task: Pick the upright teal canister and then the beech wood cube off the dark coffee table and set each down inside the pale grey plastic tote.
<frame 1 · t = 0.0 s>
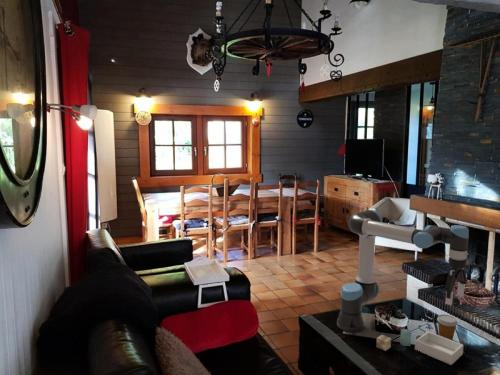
hand: (454, 300, 187), 28 cm above the table, fingers open, 13 cm apart
beech cube: (383, 347, 198), on the table
teal canister: (405, 344, 200), on the table
disposable coffee cup: (445, 340, 204), on the table
tote: (438, 351, 193), on the table
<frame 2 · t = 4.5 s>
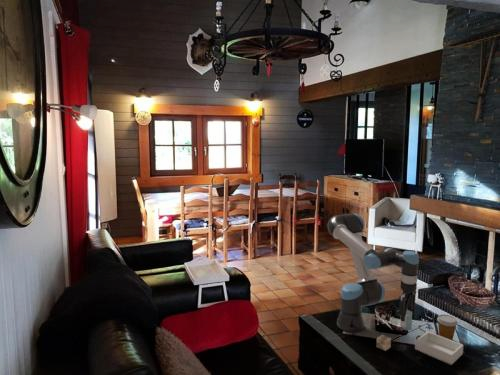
hand: (405, 324, 199), 11 cm above the table, fingers closed on teal canister, 5 cm apart
teal canister: (406, 328, 199), point 9 cm above the table, touching gripper
everything else where it was.
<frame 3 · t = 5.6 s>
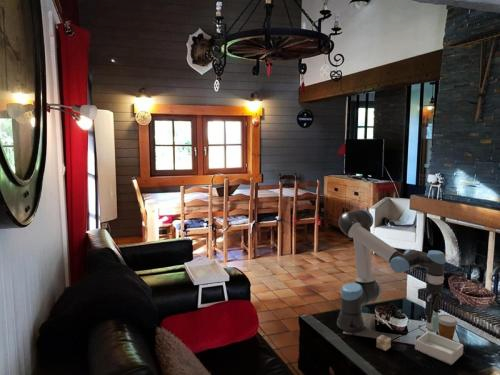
hand: (432, 326, 194), 12 cm above the table, fingers closed on teal canister, 5 cm apart
teal canister: (432, 329, 194), point 10 cm above the table, touching gripper
everything else where it was.
when the fingers open (5 cm above the table, at t = 7.1 s): teal canister drops 2 cm, resting on tote.
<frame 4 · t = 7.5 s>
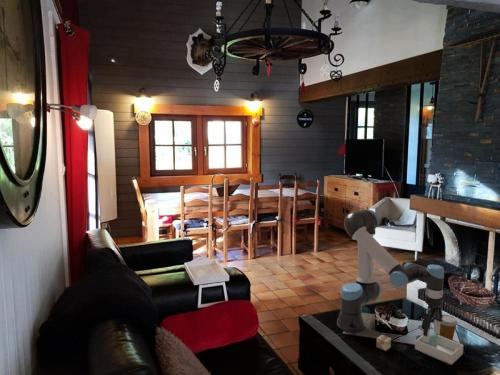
hand: (431, 337, 195), 6 cm above the table, fingers open, 11 cm apart
teal canister: (431, 347, 196), point 1 cm above the table, touching tote
everything else where it was.
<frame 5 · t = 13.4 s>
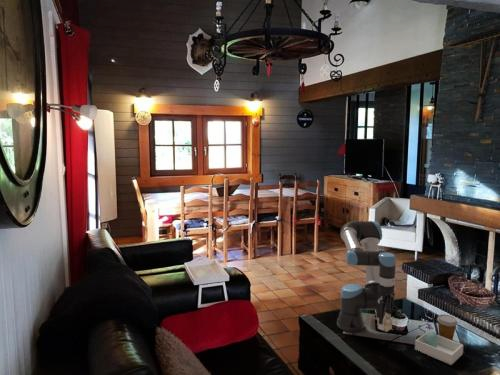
hand: (384, 327, 196), 11 cm above the table, fingers closed on beech cube, 5 cm apart
beech cube: (384, 328, 196), point 10 cm above the table, touching gripper
everything else where it was.
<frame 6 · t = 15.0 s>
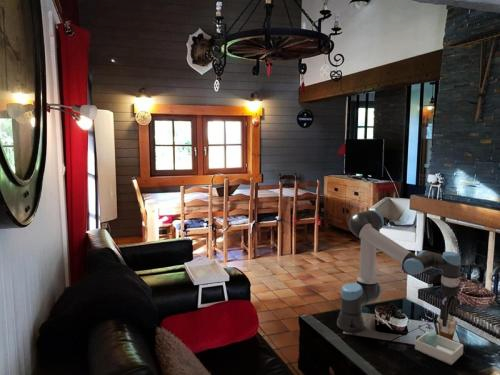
hand: (447, 330, 188), 13 cm above the table, fingers closed on beech cube, 5 cm apart
beech cube: (447, 331, 188), point 13 cm above the table, touching gripper
everything else where it was.
when the fingers open (5 cm above the table, at t = 16.9 s): beech cube drops 4 cm, resting on tote.
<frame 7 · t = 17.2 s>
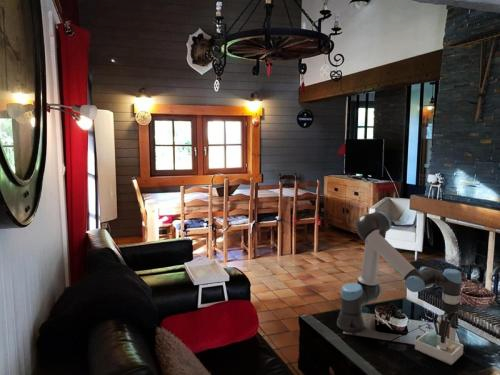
hand: (447, 344, 189), 6 cm above the table, fingers open, 10 cm apart
beech cube: (447, 354, 190), point 1 cm above the table, touching tote
everything else where it was.
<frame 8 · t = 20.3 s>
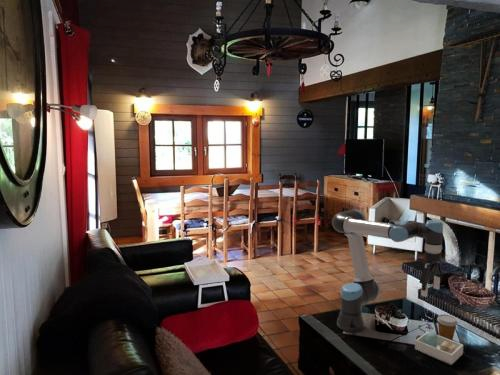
hand: (430, 292, 195), 29 cm above the table, fingers open, 13 cm apart
nothing on the table moved.
at the end: teal canister inside the target area on the tote (3.7 cm from its centre), point 0.6 cm above the tote's base; beech cube inside the target area on the tote (4.2 cm from its centre), point 0.6 cm above the tote's base; the gripper is holding nothing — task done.
